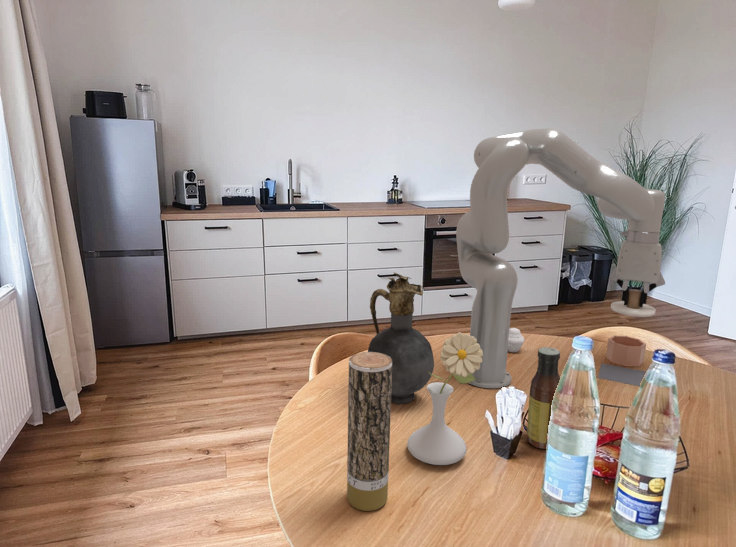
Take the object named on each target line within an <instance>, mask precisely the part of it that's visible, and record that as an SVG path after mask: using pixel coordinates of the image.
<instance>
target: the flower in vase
mask: <svg viewBox="0 0 736 547" xmlns="http://www.w3.org/2000/svg"><path fill="white" fill-rule="evenodd" d="M476 342H477V340H476V339H475V338H474V337H473V336H471V337H470V334H468V333H465V334H464V333H462V332H460V331H459V332H457V334H456V333H454V334H453V335H452V336H451V337H448V338H447V339H445V340H444V341H443V343H442V346H443V347H442V348H441V350H440V357H439V359H440V361H441V362H442V365H443V366H444V367H445V371H446V372H447V373H450V374H449V377H448V378H447V379H444V378H442V377H441V376H438V375H435V374H433V373H432V374H431V373H430V372H429V371H428V372H429V374H430V375H432V376H431V377H435V378H437V379H440V380H442V381H444V382H439V381H438V382H437V381H436V382H431V383H427V384H426V391H428V393H429V395H430V397H431V401H432V417H431V420H430V422H429V423H428V424H425V425H424V426H421V427H420V428H418V429H416V430H415V431H414V432H413V433H411V434H410V435H409V437H408V439H407V442H406V446H407V449H408V451H409V453H410V454H411V455H412V457H414V458H416V459H417V460H419V461H420V462H423V463H426V464H430V465H434V466H448V465H452V464H455V463H458V462H459V461H461V460H462V459H463V458H464V457H465V455H466V454H467V451H468V450H467V449H468V448H467V445H466V442H465V440H464V439H463V437H462V436H460V434H459V433H458V432H456V431H455V430H454V429H452V428H451V427H450V426H448V425H447V423H446V420H445V413H446V412H445V411H446V407H447V406H446V405H447V401H448V398H449V396H450V395H451V394H452V393H453V392H454V387H453V386H452V385H450V384H448V382H449V381H450V379H451V378H452V377H454V379H455V380H456V381H457V382H458V383H459V384H463V385H464V384H469V382H472V381H474V380H475V378H474V377H473V375H472V374H471V373H474V372H475V371H476V370H479V369H480V363H482V358H481V357H482V356H483V353H482V352H483V351H482V349H480V345H479V344H478V343H476Z"/></svg>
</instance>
